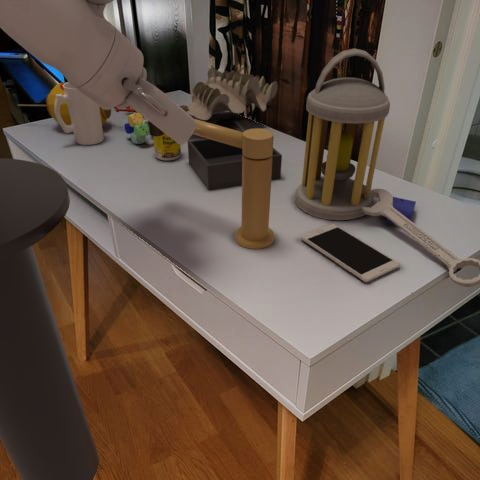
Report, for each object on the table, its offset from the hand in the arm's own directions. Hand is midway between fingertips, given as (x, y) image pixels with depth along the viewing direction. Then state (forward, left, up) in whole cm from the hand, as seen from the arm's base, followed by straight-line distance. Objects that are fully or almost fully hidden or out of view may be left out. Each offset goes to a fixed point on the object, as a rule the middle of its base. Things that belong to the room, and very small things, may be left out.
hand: (185, 134), depth 73 cm
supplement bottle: (+4, +30, -16) cm, 34 cm away
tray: (+15, +18, -15) cm, 28 cm away
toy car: (+22, +37, -15) cm, 46 cm away
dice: (0, +40, -15) cm, 43 cm away
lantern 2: (+3, +48, -10) cm, 49 cm away
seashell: (+21, +46, -17) cm, 53 cm away
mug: (-12, +45, -16) cm, 49 cm away
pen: (+15, +57, -17) cm, 61 cm away
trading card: (+10, +48, -15) cm, 52 cm away
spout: (+3, 0, -3) cm, 5 cm away
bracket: (+36, -9, -15) cm, 40 cm away
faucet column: (+9, -8, -15) cm, 19 cm away
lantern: (+27, -1, -15) cm, 31 cm away
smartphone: (+21, -17, -15) cm, 31 cm away
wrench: (+33, -19, -14) cm, 40 cm away
